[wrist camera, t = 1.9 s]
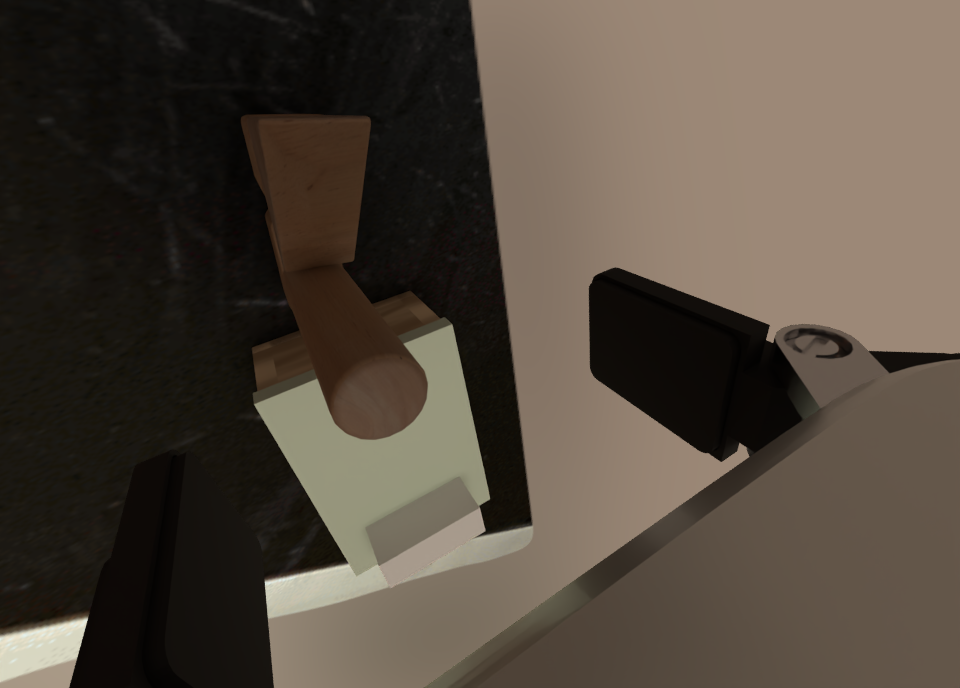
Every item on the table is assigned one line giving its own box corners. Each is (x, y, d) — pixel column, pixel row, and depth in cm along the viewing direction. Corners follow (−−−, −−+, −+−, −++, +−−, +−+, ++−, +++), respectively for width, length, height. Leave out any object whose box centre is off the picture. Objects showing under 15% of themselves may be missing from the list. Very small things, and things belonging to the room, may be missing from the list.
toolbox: (251, 347, 29) (257, 391, 25) (410, 290, 33) (440, 319, 29) (337, 505, 39) (353, 558, 34) (452, 447, 43) (479, 487, 38)
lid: (252, 393, 24) (258, 442, 21) (444, 317, 28) (477, 347, 25) (352, 563, 34) (368, 617, 31) (483, 489, 38) (511, 528, 35)
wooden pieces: (306, 113, 25) (412, 115, 11) (338, 283, 30) (437, 427, 16) (237, 114, 23) (260, 117, 10) (283, 293, 29) (341, 461, 15)
